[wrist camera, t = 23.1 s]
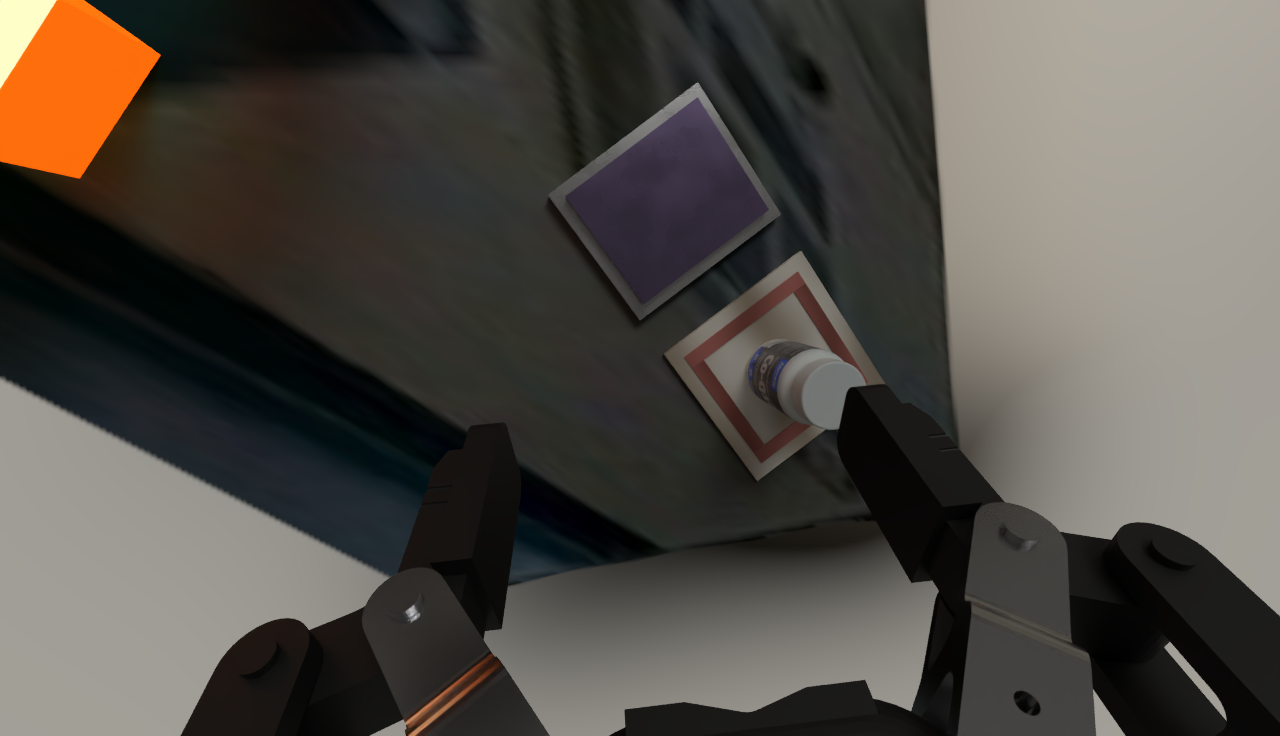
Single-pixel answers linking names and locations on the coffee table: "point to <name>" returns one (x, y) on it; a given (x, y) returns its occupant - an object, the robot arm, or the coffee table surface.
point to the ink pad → (665, 202)
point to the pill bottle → (802, 381)
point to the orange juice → (63, 82)
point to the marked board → (731, 336)
